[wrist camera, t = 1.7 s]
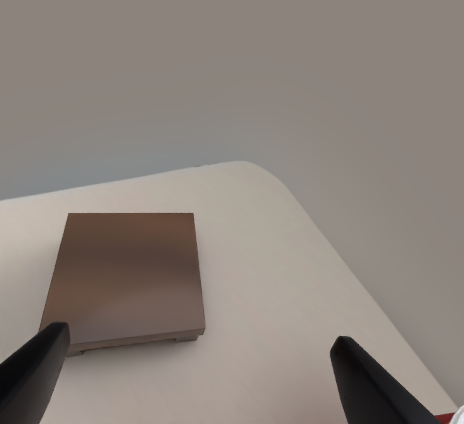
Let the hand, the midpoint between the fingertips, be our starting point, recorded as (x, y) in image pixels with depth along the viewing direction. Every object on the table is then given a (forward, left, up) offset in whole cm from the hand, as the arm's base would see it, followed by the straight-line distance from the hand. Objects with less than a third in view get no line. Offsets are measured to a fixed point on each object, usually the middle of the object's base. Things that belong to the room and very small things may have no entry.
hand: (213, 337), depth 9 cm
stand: (+4, +9, -15) cm, 18 cm away
